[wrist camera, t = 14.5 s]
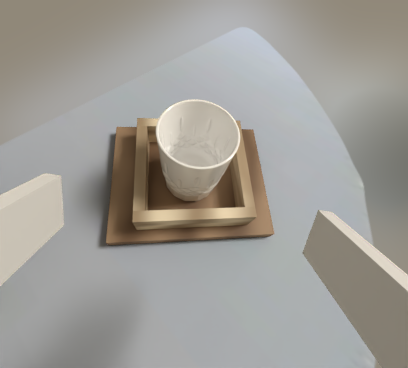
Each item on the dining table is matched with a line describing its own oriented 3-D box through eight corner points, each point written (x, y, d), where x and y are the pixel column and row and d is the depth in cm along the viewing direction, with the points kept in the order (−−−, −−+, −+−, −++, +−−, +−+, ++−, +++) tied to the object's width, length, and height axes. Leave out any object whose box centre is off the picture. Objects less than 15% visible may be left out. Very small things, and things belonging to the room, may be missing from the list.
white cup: (228, 167, 32) (251, 119, 23) (205, 216, 28) (222, 183, 19) (176, 144, 32) (179, 88, 23) (148, 190, 29) (139, 145, 20)
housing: (109, 245, 27) (96, 236, 22) (118, 133, 33) (110, 109, 29) (269, 236, 30) (287, 227, 25) (250, 135, 36) (261, 113, 32)
